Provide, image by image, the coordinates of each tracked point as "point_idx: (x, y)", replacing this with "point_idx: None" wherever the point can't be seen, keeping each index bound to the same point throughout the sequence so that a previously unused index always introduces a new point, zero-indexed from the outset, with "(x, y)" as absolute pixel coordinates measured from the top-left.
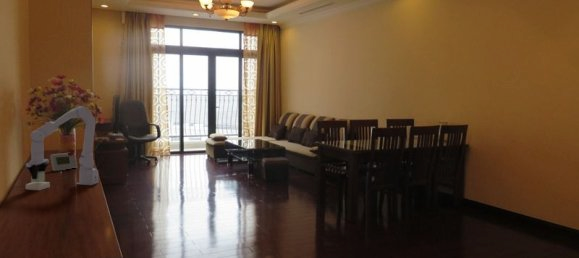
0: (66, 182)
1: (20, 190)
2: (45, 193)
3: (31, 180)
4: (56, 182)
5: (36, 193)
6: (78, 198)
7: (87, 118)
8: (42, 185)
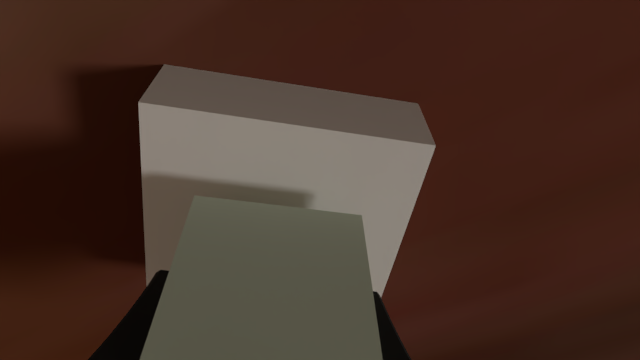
0: (607, 326)
1: (56, 33)
2: (67, 354)
3: (189, 217)
4: (630, 241)
5: (22, 292)
6: None
7: None
8: None
